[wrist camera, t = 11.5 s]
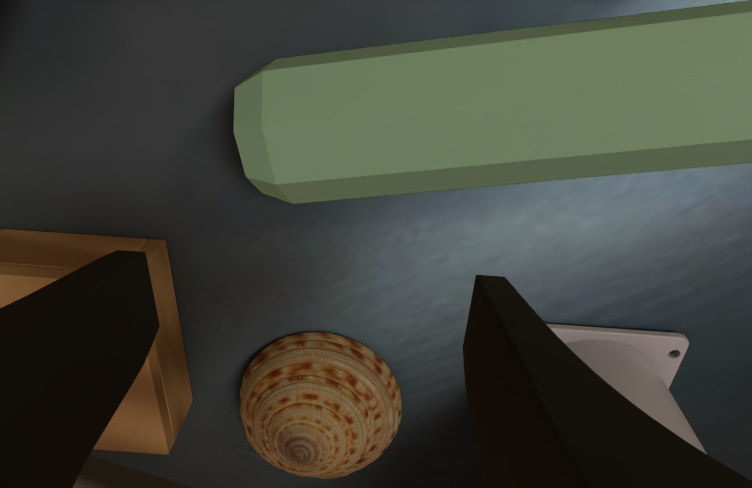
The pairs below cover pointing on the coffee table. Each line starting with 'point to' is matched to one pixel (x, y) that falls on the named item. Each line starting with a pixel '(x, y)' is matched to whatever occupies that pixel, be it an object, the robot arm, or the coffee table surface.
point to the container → (503, 107)
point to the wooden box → (167, 355)
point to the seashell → (319, 405)
